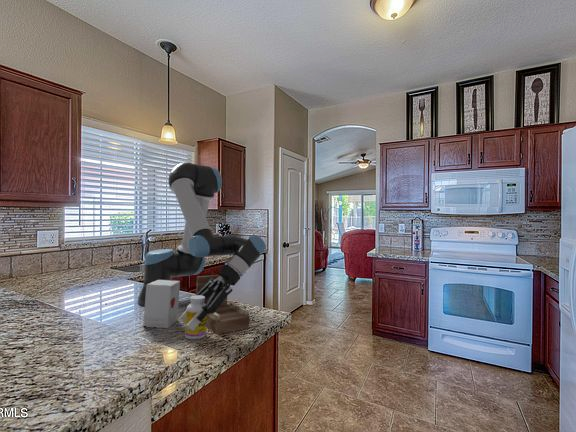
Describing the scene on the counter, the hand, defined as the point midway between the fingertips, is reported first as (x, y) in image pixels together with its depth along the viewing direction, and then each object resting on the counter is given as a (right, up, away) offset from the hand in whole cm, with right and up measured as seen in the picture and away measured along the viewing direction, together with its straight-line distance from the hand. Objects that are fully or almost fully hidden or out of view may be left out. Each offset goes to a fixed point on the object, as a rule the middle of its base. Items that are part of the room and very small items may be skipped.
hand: (185, 324), depth 94 cm
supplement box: (-13, -4, +12) cm, 18 cm away
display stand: (+8, -5, +16) cm, 19 cm away
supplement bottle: (+3, -5, +2) cm, 6 cm away
